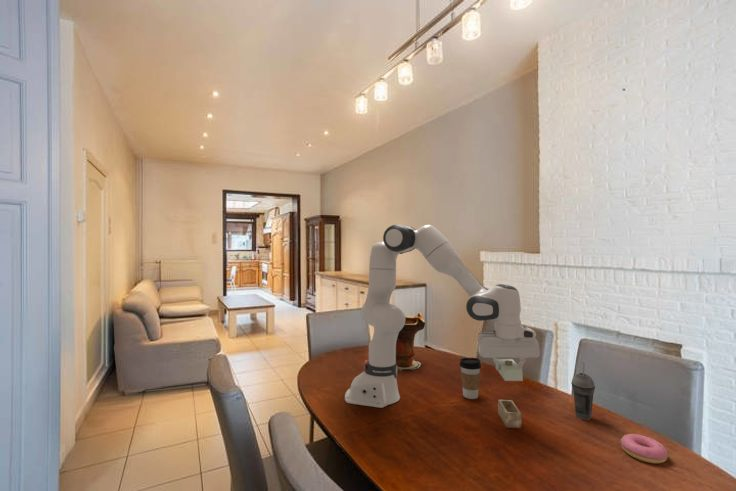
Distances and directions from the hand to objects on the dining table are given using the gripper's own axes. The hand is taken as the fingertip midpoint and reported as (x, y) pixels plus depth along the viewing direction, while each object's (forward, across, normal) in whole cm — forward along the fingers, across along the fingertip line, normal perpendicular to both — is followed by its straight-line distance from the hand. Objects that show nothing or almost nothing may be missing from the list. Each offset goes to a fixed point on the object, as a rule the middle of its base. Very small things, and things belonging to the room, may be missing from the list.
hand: (508, 369), depth 121 cm
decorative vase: (+18, -38, +54) cm, 68 cm away
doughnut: (+19, +33, -16) cm, 42 cm away
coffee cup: (+18, -10, +19) cm, 28 cm away
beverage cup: (+19, +27, +5) cm, 33 cm away
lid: (+2, 0, 0) cm, 2 cm away
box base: (+18, 0, 0) cm, 18 cm away
